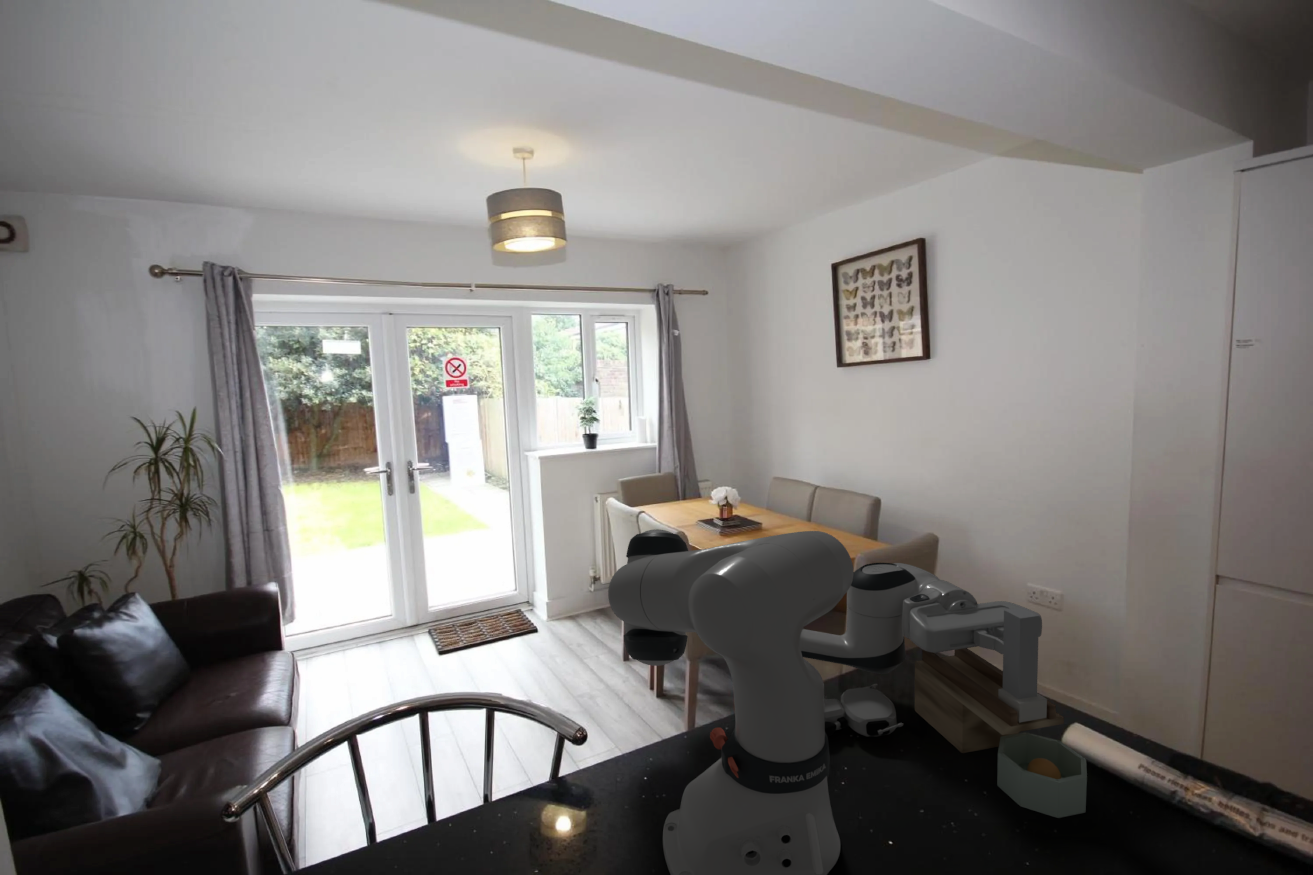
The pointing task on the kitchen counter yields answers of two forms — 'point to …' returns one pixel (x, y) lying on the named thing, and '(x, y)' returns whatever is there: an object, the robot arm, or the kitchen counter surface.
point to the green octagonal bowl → (1036, 788)
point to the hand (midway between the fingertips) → (1012, 648)
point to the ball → (1044, 768)
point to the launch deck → (968, 701)
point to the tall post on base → (1021, 665)
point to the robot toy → (861, 712)
